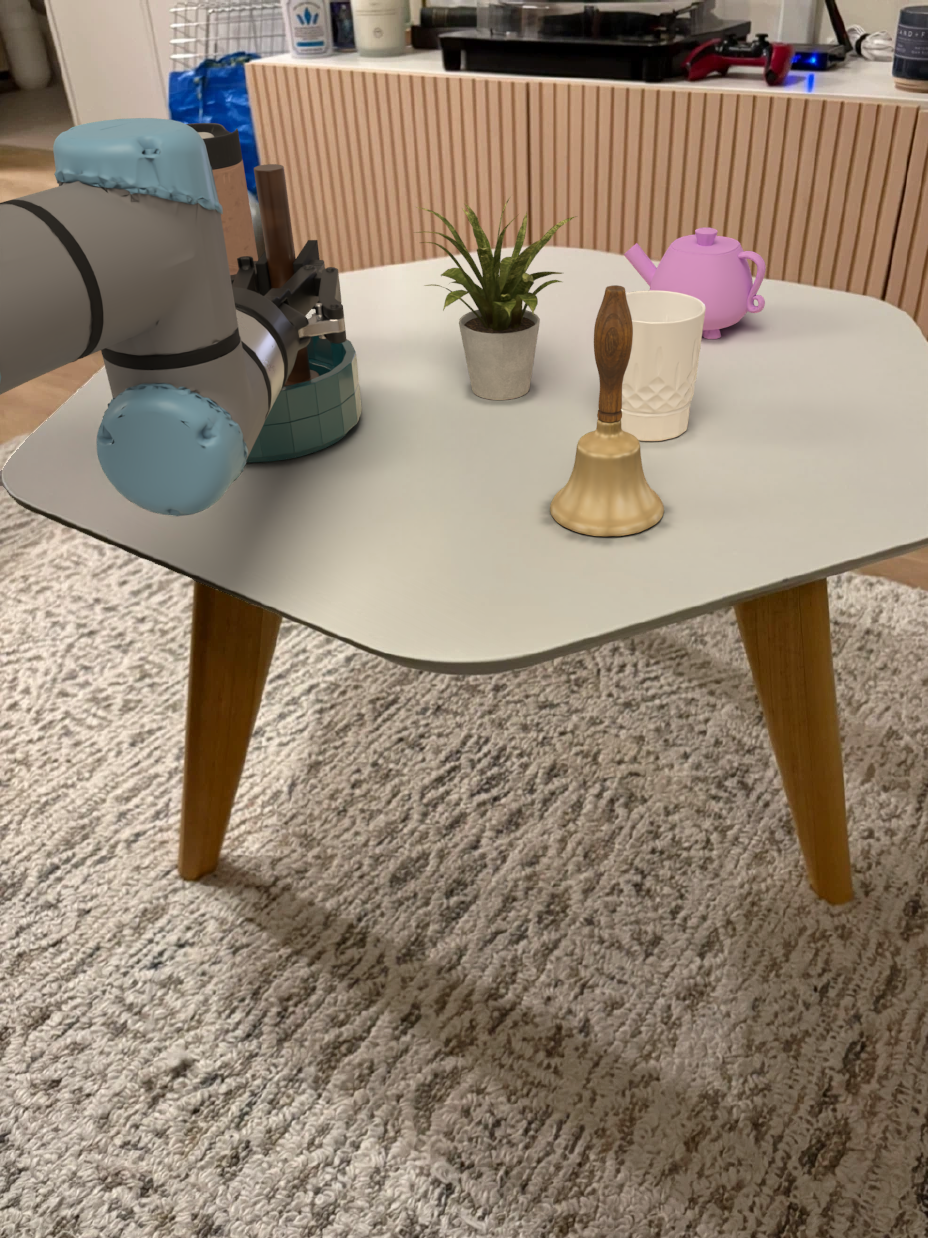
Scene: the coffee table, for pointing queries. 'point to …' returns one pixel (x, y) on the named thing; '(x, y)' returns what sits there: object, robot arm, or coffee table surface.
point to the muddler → (279, 245)
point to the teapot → (706, 276)
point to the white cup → (661, 363)
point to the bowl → (313, 406)
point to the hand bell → (609, 444)
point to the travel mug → (230, 190)
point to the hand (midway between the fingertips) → (297, 257)
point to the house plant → (498, 310)
